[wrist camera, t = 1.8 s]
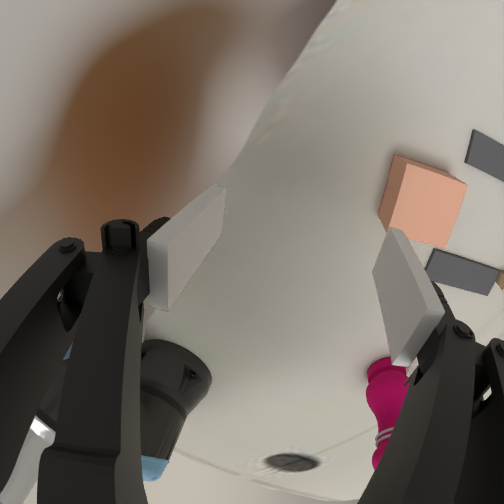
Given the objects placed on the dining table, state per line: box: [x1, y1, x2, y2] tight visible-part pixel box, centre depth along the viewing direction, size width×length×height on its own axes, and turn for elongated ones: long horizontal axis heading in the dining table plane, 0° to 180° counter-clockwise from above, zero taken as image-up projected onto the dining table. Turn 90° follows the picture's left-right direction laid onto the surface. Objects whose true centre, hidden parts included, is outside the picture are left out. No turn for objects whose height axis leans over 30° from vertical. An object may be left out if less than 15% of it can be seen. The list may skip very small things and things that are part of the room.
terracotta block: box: [378, 155, 467, 248], centre depth 26 cm, size 7×7×5 cm
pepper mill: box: [366, 357, 410, 470], centre depth 32 cm, size 7×7×20 cm
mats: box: [425, 130, 504, 296], centre depth 27 cm, size 12×19×1 cm, turn 171°
